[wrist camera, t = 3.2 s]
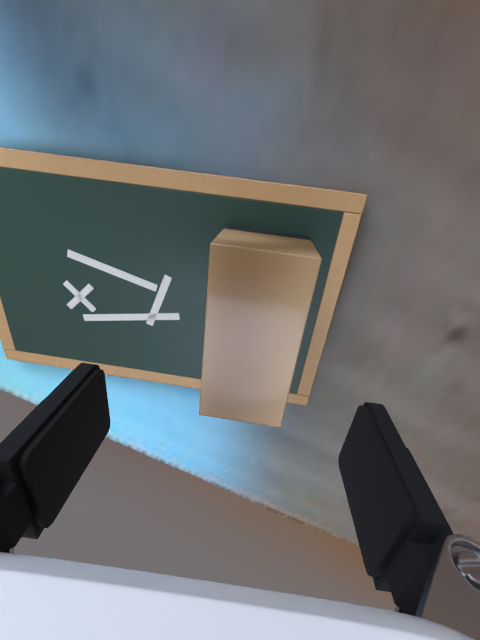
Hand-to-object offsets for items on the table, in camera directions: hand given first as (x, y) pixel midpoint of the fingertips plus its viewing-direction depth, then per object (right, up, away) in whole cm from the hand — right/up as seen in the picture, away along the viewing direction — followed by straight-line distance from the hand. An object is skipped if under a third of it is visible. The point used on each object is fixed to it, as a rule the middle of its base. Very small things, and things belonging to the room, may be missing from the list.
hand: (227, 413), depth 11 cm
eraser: (+1, +4, +8) cm, 9 cm away
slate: (-5, +6, +9) cm, 12 cm away
